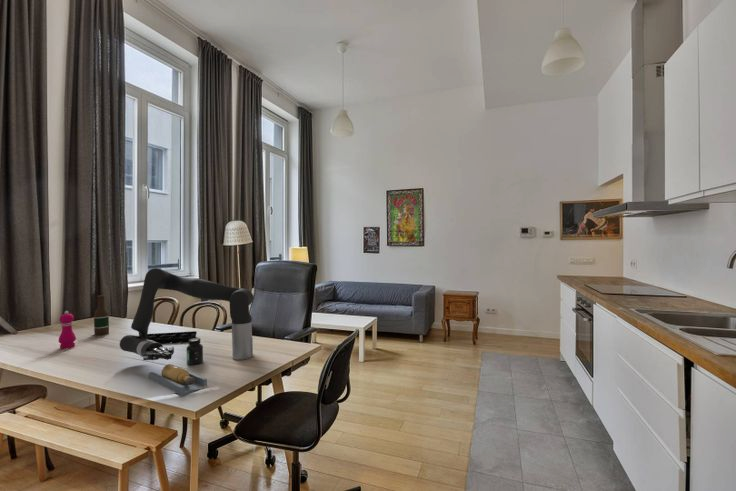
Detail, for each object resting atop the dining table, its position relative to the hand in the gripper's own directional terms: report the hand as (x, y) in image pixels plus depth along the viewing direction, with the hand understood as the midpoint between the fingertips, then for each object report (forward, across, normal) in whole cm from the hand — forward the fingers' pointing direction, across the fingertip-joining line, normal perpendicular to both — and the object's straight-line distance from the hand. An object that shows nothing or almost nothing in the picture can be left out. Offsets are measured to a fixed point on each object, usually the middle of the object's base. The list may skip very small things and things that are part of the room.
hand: (169, 356), depth 146 cm
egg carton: (-61, +28, +11) cm, 68 cm away
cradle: (+6, 0, +10) cm, 12 cm away
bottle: (-1, 0, +6) cm, 6 cm away
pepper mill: (-95, -8, +10) cm, 96 cm away
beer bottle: (-112, +13, +10) cm, 113 cm away
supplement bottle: (-9, +16, +10) cm, 21 cm away
